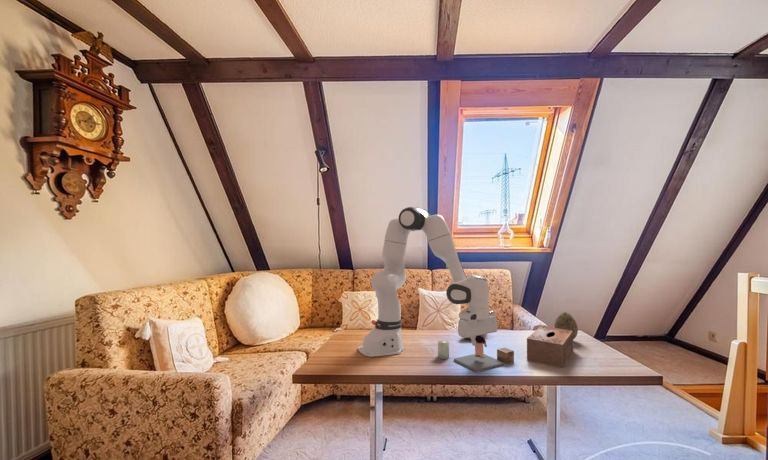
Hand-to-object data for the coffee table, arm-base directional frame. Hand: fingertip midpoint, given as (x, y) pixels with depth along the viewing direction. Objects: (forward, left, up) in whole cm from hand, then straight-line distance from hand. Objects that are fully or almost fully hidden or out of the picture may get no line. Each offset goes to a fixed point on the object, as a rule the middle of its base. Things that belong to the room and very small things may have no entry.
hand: (478, 344), depth 150 cm
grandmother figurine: (0, 0, -5) cm, 5 cm away
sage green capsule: (-9, +13, -8) cm, 18 cm away
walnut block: (+12, -4, -8) cm, 15 cm away
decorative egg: (+62, +1, -8) cm, 63 cm away
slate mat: (0, 0, -8) cm, 8 cm away
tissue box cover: (+36, -9, -8) cm, 38 cm away
